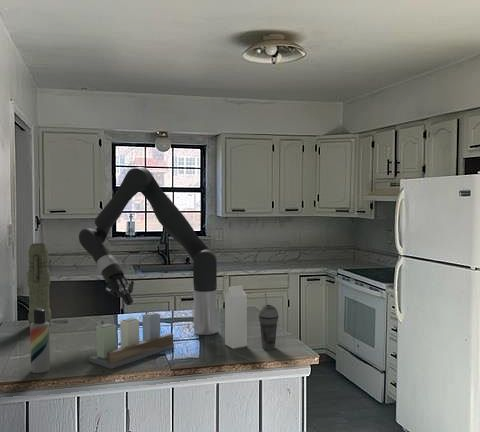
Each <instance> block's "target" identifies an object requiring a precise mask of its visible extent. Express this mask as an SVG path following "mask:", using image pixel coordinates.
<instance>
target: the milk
mask: <svg viewBox="0 0 480 432" xmlns="http://www.w3.org/2000/svg"><path fill="white" fill-rule="evenodd" d="M247 298H248V296H247V294H246V292H245V291H244V286H243V285H234V286H233V285H232V286H229V287H228V290H227V292H225V293H224V334H225V335H224V345H226V346H228V347H229V348H231V349H238V348H239V349H240V348H244V347H247V346H248V341H247V340H248V335H247V334H248V332H247V331H248V329H247V328H248V326H247V325H248V322H247V321H248V319H247V318H248V315H247V314H248V313H247V311H248V308H247V307H248V306H247V305H248V303H247V302H248V301H247V300H248V299H247Z"/></svg>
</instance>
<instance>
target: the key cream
mask: <svg viewBox="0 0 480 432" xmlns="http://www.w3.org/2000/svg"><path fill="white" fill-rule="evenodd" d="M119 323H120V328H119V329H120V348H124V347H127V346H130V345H134V344H137V343H139V342H140V319H139V318H134V317H129V318H124V319H121V320H120V322H119Z"/></svg>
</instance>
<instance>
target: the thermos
mask: <svg viewBox="0 0 480 432" xmlns="http://www.w3.org/2000/svg"><path fill="white" fill-rule="evenodd" d="M28 248H29V249H28V253H27V254H28V263H29V264H28V270H27V277H26V278H27V287H28V299H29V300H28V301H29V302H28V303H29V304H28V306H29V310H28V314H27V319H28V328H29V329H30V324H31V323H33V310H34V308H45V309H46V322H49V328H50V327H51V325H52V323H51V320H52V311H51V308H50V286H51V271H50V268H49V250H48V247H47V244H46V243H44V242H39V243H38V242H37V243H35V242H34V243H31V244H30V246H29V247H28Z"/></svg>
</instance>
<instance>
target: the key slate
mask: <svg viewBox="0 0 480 432" xmlns="http://www.w3.org/2000/svg"><path fill="white" fill-rule="evenodd" d="M141 317H142V318H141V319H142V341H143V342H144V341H147V340H150V339H153V338H157V337H160V336H161V314H160V313H158V312H155V311H154V312H153V311H151V312H148V313H144V314H142V316H141Z"/></svg>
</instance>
